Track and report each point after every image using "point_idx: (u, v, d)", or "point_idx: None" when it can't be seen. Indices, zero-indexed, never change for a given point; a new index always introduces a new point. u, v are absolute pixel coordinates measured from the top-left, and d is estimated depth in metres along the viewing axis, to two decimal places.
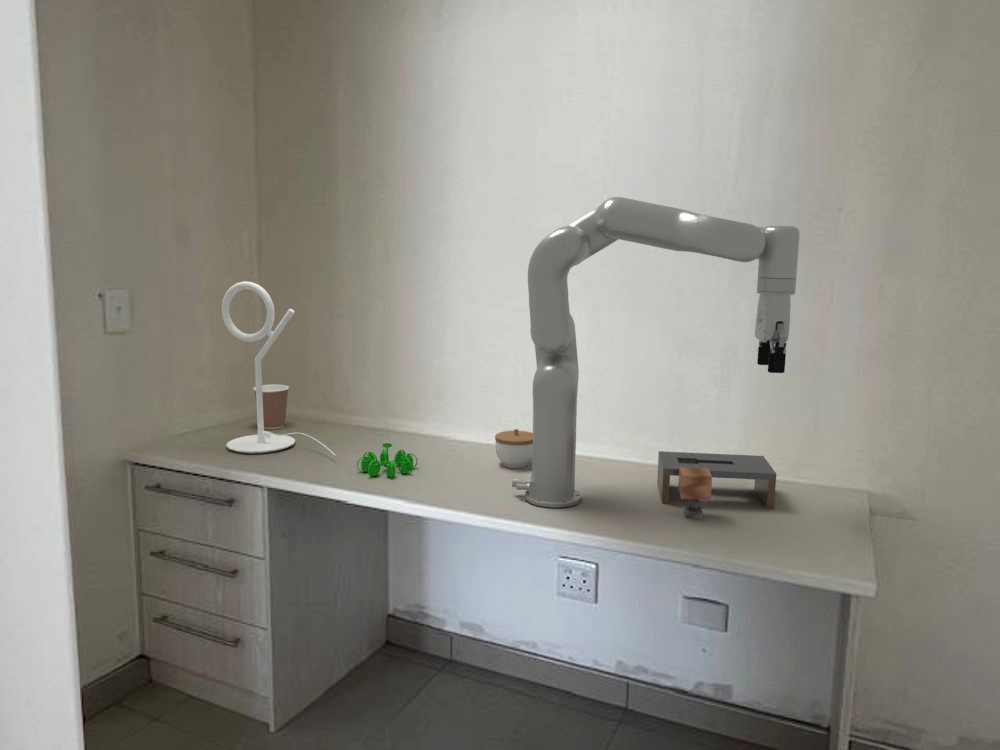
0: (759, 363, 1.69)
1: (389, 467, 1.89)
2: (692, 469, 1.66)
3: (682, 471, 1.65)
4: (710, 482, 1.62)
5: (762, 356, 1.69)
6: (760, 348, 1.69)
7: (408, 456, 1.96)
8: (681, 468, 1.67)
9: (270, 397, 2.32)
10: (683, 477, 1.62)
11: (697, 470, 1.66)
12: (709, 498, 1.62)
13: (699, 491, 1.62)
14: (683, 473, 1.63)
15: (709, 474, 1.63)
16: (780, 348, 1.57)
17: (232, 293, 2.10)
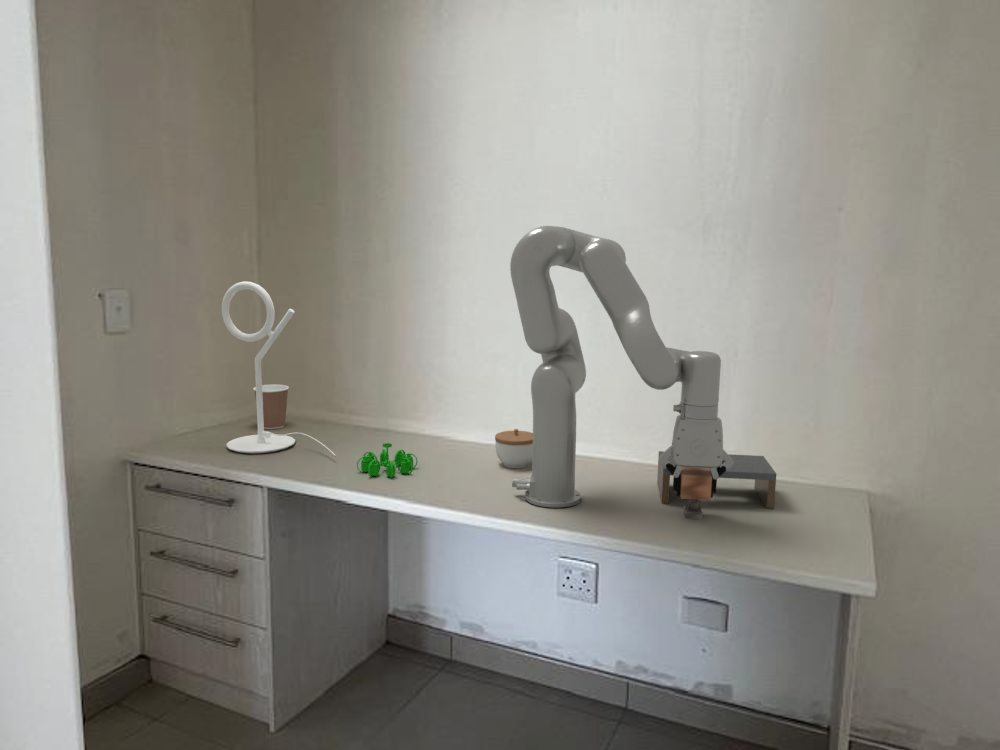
0: None
1: (389, 467, 1.89)
2: (692, 469, 1.66)
3: (682, 471, 1.65)
4: (710, 482, 1.62)
5: (680, 486, 1.65)
6: None
7: (408, 456, 1.96)
8: None
9: (270, 397, 2.32)
10: (682, 477, 1.62)
11: (696, 470, 1.66)
12: (709, 498, 1.62)
13: (699, 491, 1.62)
14: (683, 473, 1.63)
15: (709, 474, 1.63)
16: None
17: (232, 293, 2.10)
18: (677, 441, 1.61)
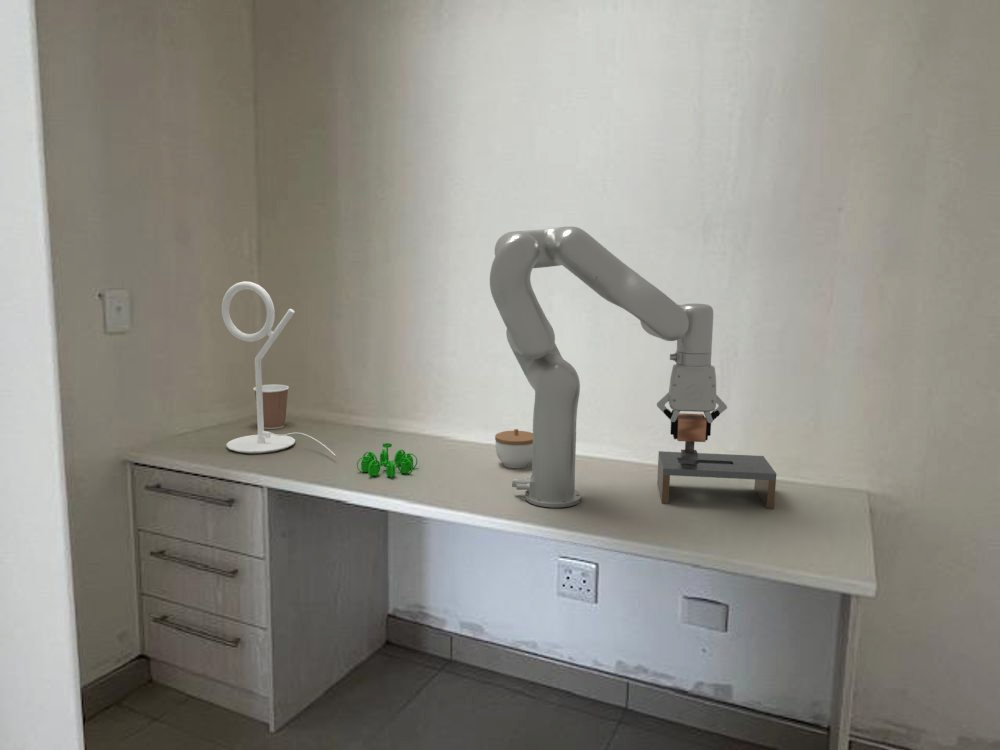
0: None
1: (389, 467, 1.89)
2: (688, 415, 1.78)
3: (678, 416, 1.77)
4: (705, 425, 1.74)
5: (677, 430, 1.77)
6: (677, 423, 1.76)
7: (408, 456, 1.96)
8: None
9: (270, 397, 2.32)
10: (679, 421, 1.74)
11: (692, 415, 1.78)
12: (704, 440, 1.74)
13: (694, 434, 1.74)
14: (680, 418, 1.75)
15: (704, 418, 1.75)
16: None
17: (232, 293, 2.10)
18: (673, 387, 1.74)
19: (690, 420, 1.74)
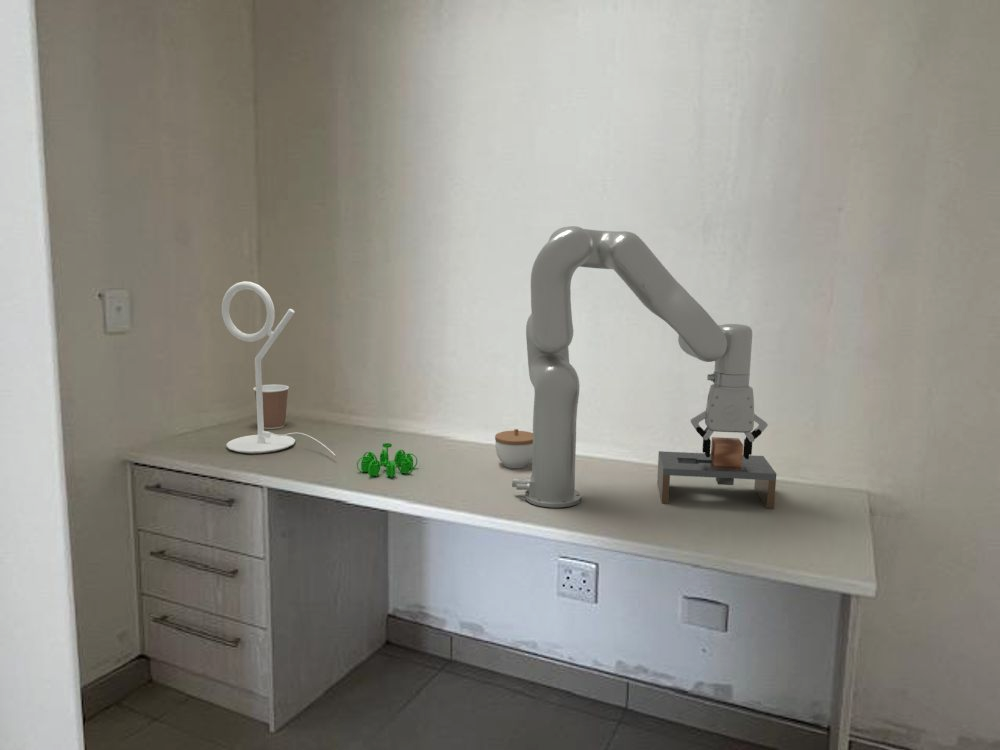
0: (709, 456, 1.77)
1: (389, 467, 1.89)
2: (724, 439, 1.78)
3: (715, 440, 1.77)
4: (741, 450, 1.74)
5: (709, 448, 1.77)
6: (710, 441, 1.76)
7: (408, 456, 1.96)
8: (713, 438, 1.79)
9: (270, 397, 2.32)
10: (716, 445, 1.74)
11: (728, 439, 1.78)
12: (740, 465, 1.74)
13: (731, 459, 1.74)
14: (716, 442, 1.75)
15: (740, 443, 1.75)
16: None
17: (232, 293, 2.10)
18: (711, 408, 1.73)
19: (727, 445, 1.74)
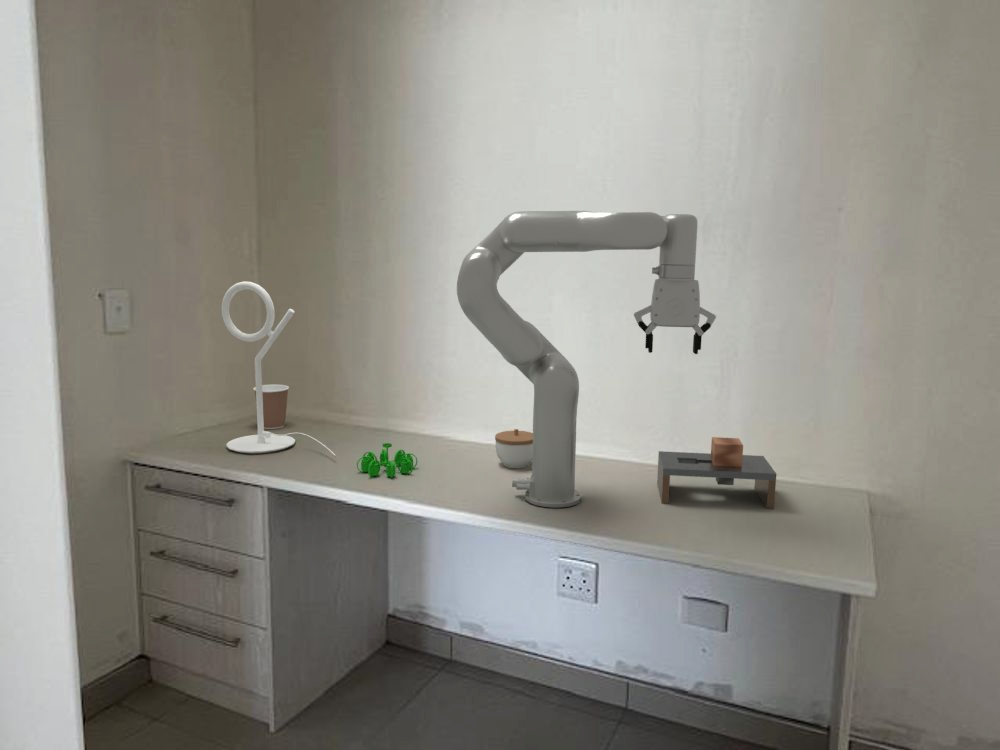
0: (651, 351, 1.70)
1: (389, 467, 1.89)
2: (724, 439, 1.78)
3: (715, 440, 1.77)
4: (741, 450, 1.74)
5: None
6: (652, 336, 1.69)
7: (408, 456, 1.96)
8: (713, 438, 1.79)
9: (270, 397, 2.32)
10: (716, 445, 1.74)
11: (728, 439, 1.78)
12: (740, 465, 1.74)
13: (731, 459, 1.74)
14: (716, 442, 1.75)
15: (740, 443, 1.75)
16: None
17: (232, 293, 2.10)
18: (655, 301, 1.67)
19: (727, 445, 1.74)
